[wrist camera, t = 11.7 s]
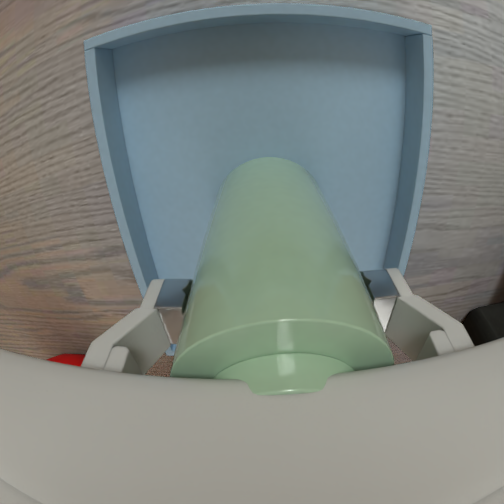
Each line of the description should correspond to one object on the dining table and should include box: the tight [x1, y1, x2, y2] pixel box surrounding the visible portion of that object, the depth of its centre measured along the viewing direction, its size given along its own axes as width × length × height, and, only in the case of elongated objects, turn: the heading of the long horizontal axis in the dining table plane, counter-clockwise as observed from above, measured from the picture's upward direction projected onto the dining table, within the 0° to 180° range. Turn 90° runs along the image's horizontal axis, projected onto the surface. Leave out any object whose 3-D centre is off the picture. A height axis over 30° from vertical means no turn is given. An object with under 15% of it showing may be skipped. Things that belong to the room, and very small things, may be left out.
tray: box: [84, 3, 434, 356], centre depth 16 cm, size 21×16×3 cm
